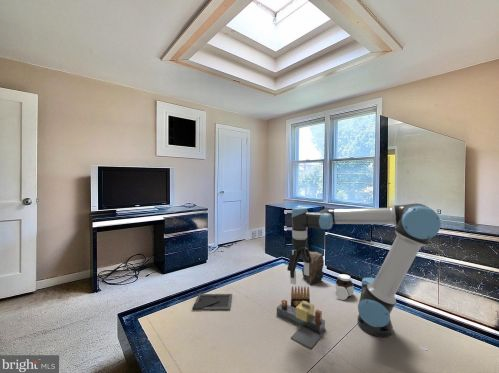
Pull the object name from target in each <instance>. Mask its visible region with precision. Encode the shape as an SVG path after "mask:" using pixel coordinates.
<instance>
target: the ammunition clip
mask: <svg viewBox="0 0 499 373" xmlns="http://www.w3.org/2000/svg"><path fill="white" fill-rule="evenodd" d="M294 286H295V285H293V286H292V287H291V292H290V306H292V307H294V308H296V307H297V306H298V305H299V304H300V303H301V302H302V301H306V302H308V303H311V300H310V297H311V296H310V295H311V294H310V285H309V286H307V287H306V286H304V287H303V286H302V285H301V287H300V286H299V285H298V287H297V285H296V286H295V287H294Z"/></svg>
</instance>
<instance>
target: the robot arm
mask: <svg viewBox="0 0 499 373" xmlns="http://www.w3.org/2000/svg"><path fill="white" fill-rule="evenodd" d="M441 223H442V222H441V219H440V216H439V214H438V213H437V212H436V211H435V210H434V209H433V208H430V207H429V206H426V205H425V204H422V203H409V204H399V205H398V204H397V205H392V206H391V207H371V208H368V207H367V208H340V209H339V208H337V209H336V208H335V209H332V208H331V209H329V208H324V209H321V210H319V211H318V212H311V211H308V209H307V207H293V208H292V210H291V229H292V230H291V235H292V236H291V237H292V239H291V243H292V244H291V245H292V246H293V247H294V248H293V249H291V250H290V255H289V261H288V265H287V268H286V270H287V271H289V273H290V274H289V276H290V277H289V278H290V284H291V285H293V286H295V285H296V286H297V271H296V269H297V266H298V262H299V260H300V258H302V260H303V259H304V261H305V262H303V266H304V275H308V276H309V263H311V256H310V253H309V252H310V249H309V244H308V228H313V229H321V230H330V229H332V228H333V225H344V224H345V225H348V224H349V225H350V224H351V225H393V226H395V229H394V232H395V234H396V237H395V239H394V241H393V243H392V245H391V247H390V249H389V251H388V252H387V255H386V257H385V259H384V261H383V263H382V264H381V266H380V268H379V270H378V272H377V274H376V276H375V277H364V278H362V280H361V292H360V297H359V302H358V305H357V311H358V314H357V325H358V327H359V328H360V329H361V330H362V331H364V333H366V334H370V335H372V336H375V337H379V338H387V337H390V336H392V335H393V333H394V330H393V328H394V327H393V323H392V321H391V313H392V311H393V309H394V307H395V306H396V304H397V300H396V299H397V298H396V297H395V295H396V294H397V291H398V290H399V288H400V287H401V284H402V283H403V280H404V278H405V276H406V275H407V273H408V271H409V269H410V268H411V266H412V264H413V262H414V260H415V258H416V257H417V255H418V252H419V251H420V249H421V248H422V247H425V246H428V244H429V243H430V241H431V240H432V238H433V237H435V236H436V235H437V234H438V233H439V231H440V229H441V227H442V226H441ZM308 257H309V258H308Z"/></svg>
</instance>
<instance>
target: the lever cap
mask: <svg viewBox="0 0 499 373" xmlns="http://www.w3.org/2000/svg"><path fill="white" fill-rule="evenodd" d="M312 316H315V304H313V303H311V302H310V303H308V302H307V301H302V302H301V303H300V304H299V305H298V306H297V307H296V318H299V319H301V320H303V321H305V322H308V321H309V319H310V318H311V317H312Z"/></svg>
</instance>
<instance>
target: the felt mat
mask: <svg viewBox="0 0 499 373" xmlns="http://www.w3.org/2000/svg"><path fill="white" fill-rule="evenodd" d="M321 338H322V335H321V334H320V335H319V334H317V333H315V332H313V331H310V330H308V329H306V328H304V327H302V326H300V327H299V328H298V329H297V330H296V331H295V332H294V333H293V334H292V335H291V336H290V340H292V341H294V342H296V343H298V344H300V345H302V346H304V347H305V348H308V350H309V349H310V350H312V349H313V348H314V347H315V345H316V344H317V343H318V341H319V340H320V339H321Z"/></svg>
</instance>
